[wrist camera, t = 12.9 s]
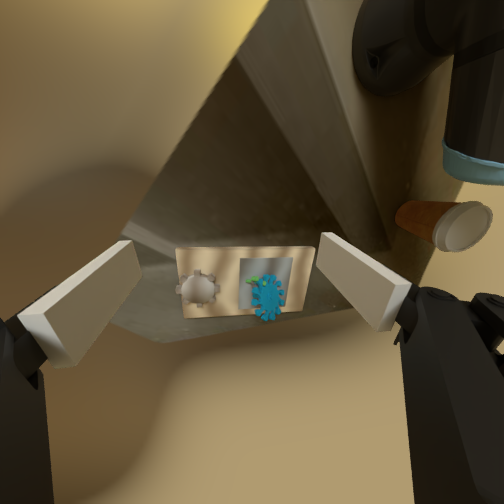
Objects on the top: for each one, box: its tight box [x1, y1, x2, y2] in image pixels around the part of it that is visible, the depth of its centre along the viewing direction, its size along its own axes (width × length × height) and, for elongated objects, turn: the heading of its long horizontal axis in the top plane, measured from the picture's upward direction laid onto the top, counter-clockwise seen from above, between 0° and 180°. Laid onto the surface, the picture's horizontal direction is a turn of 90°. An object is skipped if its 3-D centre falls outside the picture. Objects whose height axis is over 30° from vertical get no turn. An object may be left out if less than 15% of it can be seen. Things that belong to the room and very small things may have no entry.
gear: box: [246, 274, 285, 321], centre depth 42 cm, size 11×6×10 cm
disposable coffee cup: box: [395, 200, 493, 252], centre depth 38 cm, size 10×10×12 cm
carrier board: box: [175, 246, 315, 318], centre depth 43 cm, size 31×18×3 cm, turn 87°
